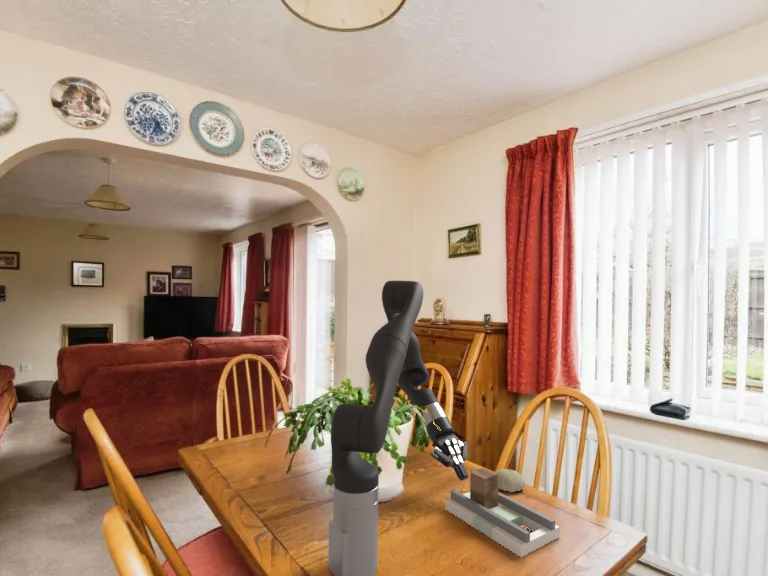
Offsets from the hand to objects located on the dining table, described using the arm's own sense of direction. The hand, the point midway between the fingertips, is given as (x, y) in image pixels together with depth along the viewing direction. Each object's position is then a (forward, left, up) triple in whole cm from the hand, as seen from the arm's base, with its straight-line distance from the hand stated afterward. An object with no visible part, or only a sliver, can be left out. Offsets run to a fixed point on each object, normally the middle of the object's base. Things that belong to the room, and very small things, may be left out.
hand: (465, 478), depth 113 cm
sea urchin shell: (+18, 0, -7) cm, 19 cm away
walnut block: (0, -7, -4) cm, 8 cm away
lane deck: (0, -12, -6) cm, 14 cm away
